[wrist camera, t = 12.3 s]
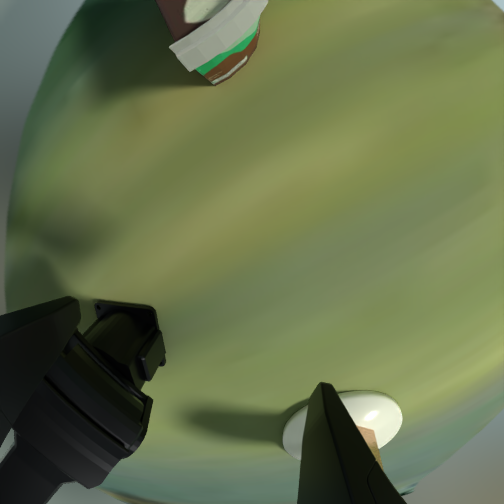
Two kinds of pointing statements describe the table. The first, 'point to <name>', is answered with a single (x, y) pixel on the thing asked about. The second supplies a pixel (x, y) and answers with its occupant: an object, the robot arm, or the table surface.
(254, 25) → the food container
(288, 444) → the cream plate
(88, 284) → the table surface
